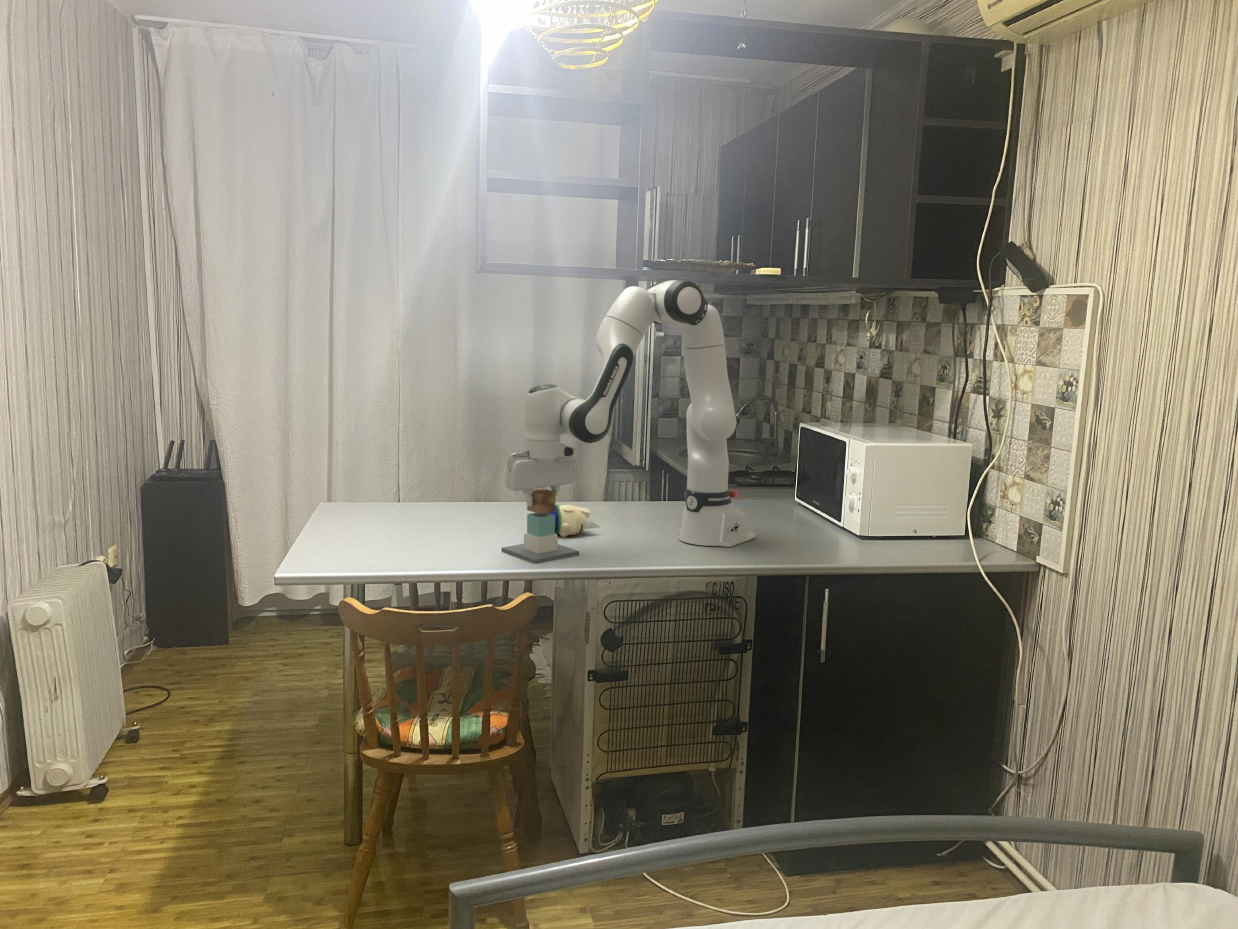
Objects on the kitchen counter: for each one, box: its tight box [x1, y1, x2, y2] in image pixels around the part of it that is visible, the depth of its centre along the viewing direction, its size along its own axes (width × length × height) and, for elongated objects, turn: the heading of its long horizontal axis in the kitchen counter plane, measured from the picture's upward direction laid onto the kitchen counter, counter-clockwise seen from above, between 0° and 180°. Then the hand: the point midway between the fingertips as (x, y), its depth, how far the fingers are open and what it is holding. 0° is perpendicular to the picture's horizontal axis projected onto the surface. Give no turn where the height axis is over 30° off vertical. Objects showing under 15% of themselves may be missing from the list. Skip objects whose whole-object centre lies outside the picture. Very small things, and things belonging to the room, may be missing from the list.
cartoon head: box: [547, 504, 601, 538], centre depth 253 cm, size 9×10×20 cm
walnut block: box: [526, 488, 556, 514], centre depth 231 cm, size 5×5×5 cm
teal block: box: [526, 512, 555, 537], centre depth 232 cm, size 5×5×5 cm
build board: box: [501, 532, 580, 564], centre depth 233 cm, size 14×14×5 cm
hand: (541, 504), depth 231 cm, fingers closed on walnut block, 5 cm apart
